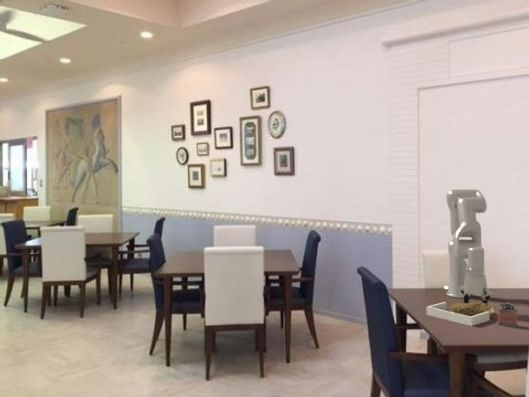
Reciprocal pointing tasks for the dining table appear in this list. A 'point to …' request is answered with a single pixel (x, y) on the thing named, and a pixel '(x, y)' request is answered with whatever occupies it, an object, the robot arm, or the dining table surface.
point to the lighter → (507, 315)
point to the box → (456, 315)
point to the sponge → (472, 308)
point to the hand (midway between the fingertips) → (475, 305)
